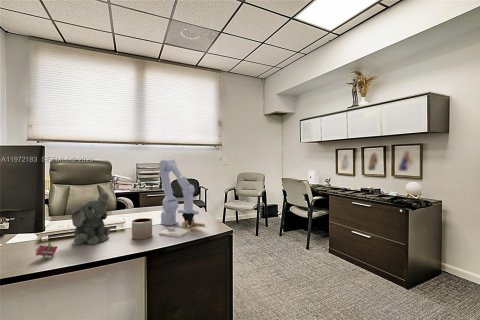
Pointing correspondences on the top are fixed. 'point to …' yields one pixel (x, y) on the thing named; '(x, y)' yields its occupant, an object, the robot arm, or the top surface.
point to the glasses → (185, 225)
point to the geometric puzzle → (46, 250)
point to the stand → (175, 232)
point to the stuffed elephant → (91, 221)
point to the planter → (141, 228)
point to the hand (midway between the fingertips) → (188, 224)
